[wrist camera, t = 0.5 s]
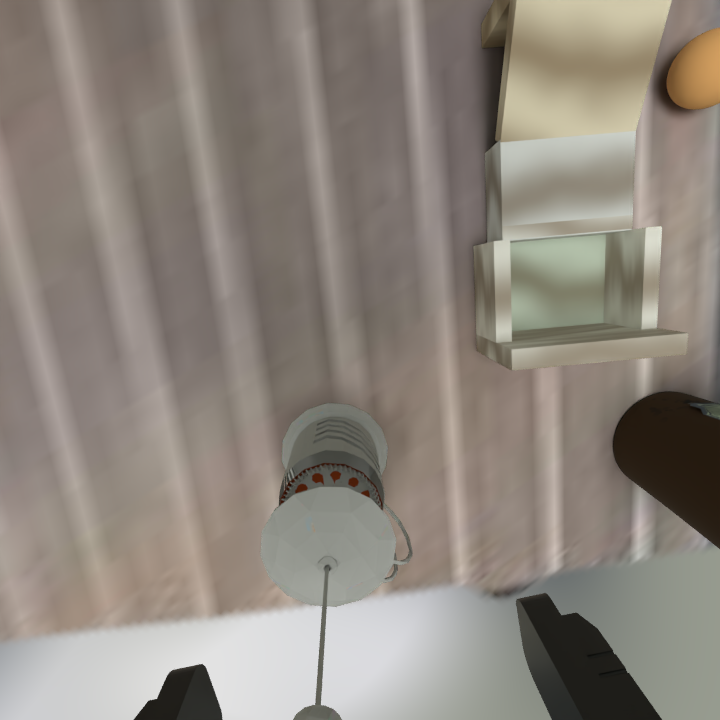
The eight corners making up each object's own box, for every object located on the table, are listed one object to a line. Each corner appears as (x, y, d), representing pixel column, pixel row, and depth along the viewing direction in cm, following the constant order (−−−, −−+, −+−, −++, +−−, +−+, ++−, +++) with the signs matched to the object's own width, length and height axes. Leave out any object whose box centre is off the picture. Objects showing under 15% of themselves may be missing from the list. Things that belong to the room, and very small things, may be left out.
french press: (324, 381, 37) (282, 581, 13) (424, 455, 39) (558, 759, 14) (259, 463, 38) (107, 789, 14) (359, 531, 40) (379, 930, 16)
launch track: (465, 24, 32) (504, -58, 24) (625, 11, 32) (714, -74, 24) (476, 351, 37) (511, 370, 29) (615, 338, 37) (686, 354, 29)
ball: (652, 52, 33) (706, 13, 28) (715, 47, 33) (779, 7, 28) (649, 122, 34) (700, 95, 29) (710, 116, 34) (771, 89, 29)
